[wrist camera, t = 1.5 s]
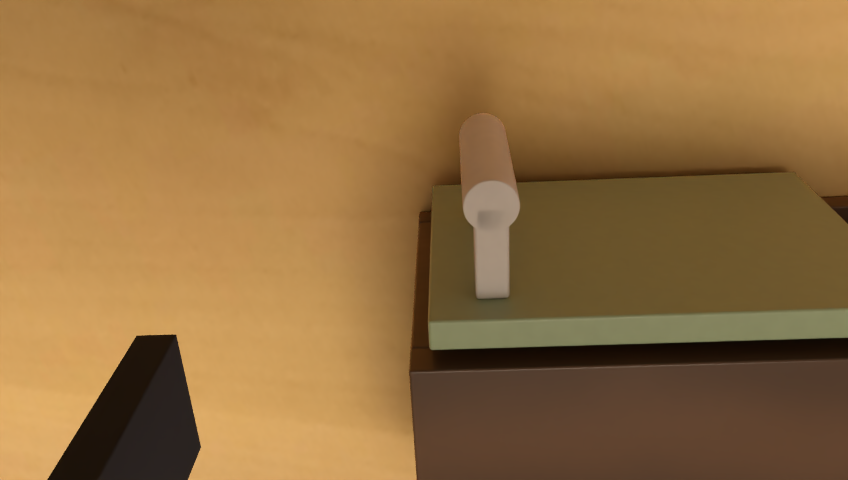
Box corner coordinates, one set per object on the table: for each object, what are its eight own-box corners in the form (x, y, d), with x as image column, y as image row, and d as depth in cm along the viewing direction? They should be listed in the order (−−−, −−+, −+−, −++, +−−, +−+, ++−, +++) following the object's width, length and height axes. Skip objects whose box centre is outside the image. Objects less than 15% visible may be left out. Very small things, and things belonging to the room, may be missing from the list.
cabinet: (419, 211, 33) (409, 371, 23) (1130, 185, 32) (1434, 342, 22) (432, 441, 39) (429, 650, 29) (1041, 426, 37) (1255, 638, 28)
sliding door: (427, 90, 30) (420, 199, 21) (810, 74, 30) (968, 178, 21) (433, 207, 32) (429, 351, 23) (791, 194, 32) (926, 336, 23)
